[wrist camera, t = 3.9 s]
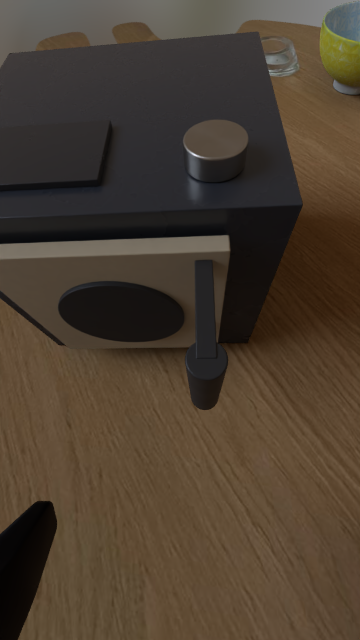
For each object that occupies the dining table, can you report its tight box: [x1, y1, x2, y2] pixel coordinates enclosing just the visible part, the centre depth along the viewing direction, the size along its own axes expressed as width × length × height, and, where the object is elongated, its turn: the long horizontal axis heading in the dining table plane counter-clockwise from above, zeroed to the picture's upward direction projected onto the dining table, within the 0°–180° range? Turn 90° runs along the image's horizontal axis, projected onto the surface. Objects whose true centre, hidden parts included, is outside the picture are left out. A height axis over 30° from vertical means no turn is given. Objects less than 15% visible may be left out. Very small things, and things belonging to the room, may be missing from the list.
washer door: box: [0, 235, 230, 410], centre depth 14 cm, size 6×10×10 cm, turn 89°
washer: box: [0, 32, 303, 345], centre depth 19 cm, size 14×15×14 cm
